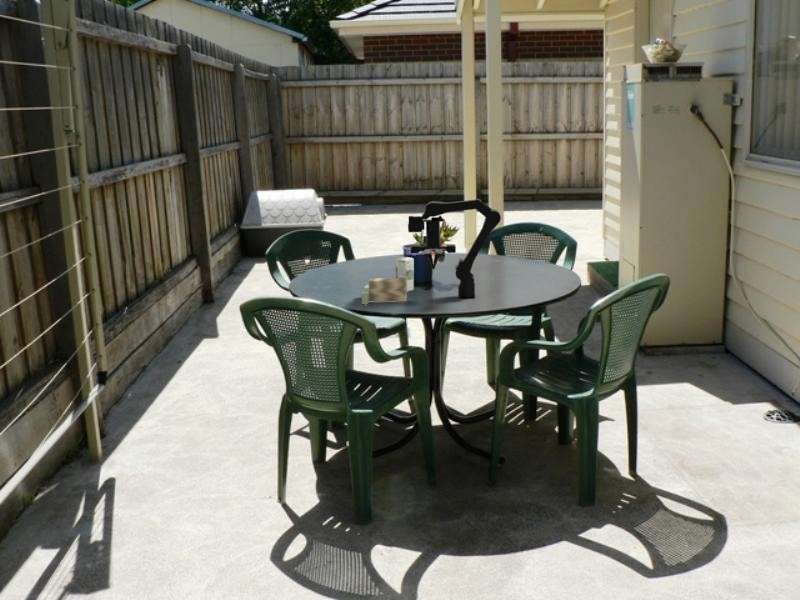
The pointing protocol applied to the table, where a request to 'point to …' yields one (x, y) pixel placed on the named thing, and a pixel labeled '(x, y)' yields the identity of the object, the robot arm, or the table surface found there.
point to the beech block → (387, 289)
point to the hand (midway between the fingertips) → (433, 269)
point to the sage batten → (365, 295)
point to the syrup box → (406, 271)
